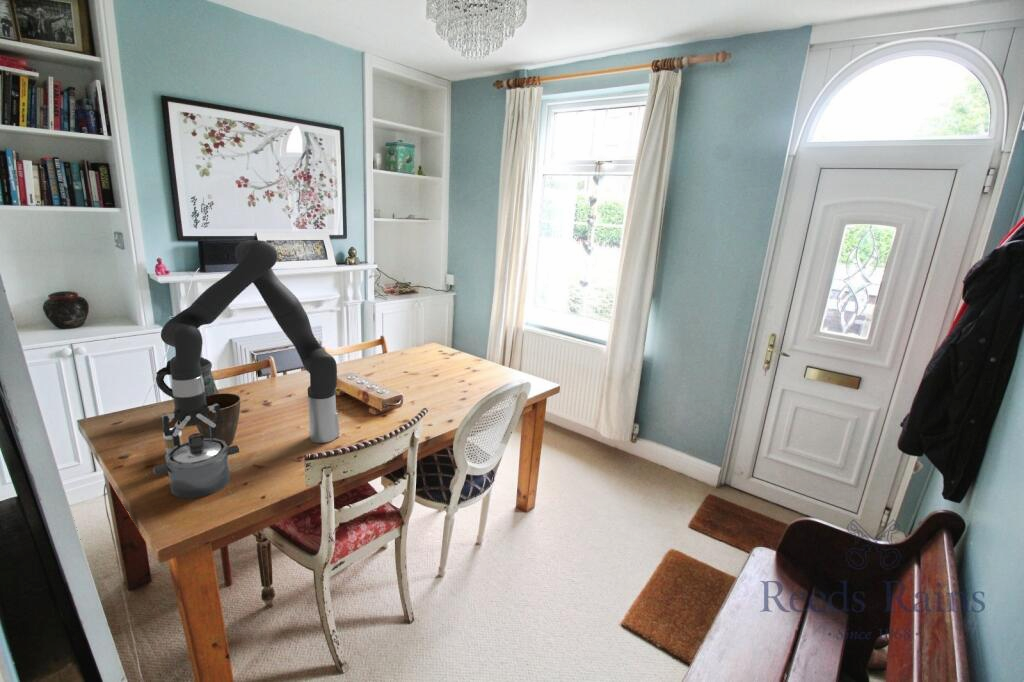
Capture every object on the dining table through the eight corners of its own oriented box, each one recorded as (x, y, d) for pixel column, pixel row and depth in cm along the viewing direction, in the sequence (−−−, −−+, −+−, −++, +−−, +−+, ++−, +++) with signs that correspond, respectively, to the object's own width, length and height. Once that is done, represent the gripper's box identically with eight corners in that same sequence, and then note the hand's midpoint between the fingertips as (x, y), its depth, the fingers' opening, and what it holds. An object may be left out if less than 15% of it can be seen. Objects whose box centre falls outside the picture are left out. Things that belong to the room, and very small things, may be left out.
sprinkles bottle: (184, 463, 152) (178, 425, 148) (188, 469, 149) (182, 431, 145) (167, 468, 148) (160, 430, 145) (170, 474, 145) (164, 435, 142)
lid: (217, 440, 148) (215, 423, 146) (225, 457, 139) (223, 439, 137) (171, 451, 140) (168, 433, 138) (175, 469, 131) (173, 450, 130)
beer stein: (233, 414, 186) (226, 354, 179) (178, 431, 171) (168, 366, 164) (212, 402, 195) (205, 344, 188) (158, 417, 179) (148, 355, 172)
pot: (234, 461, 155) (230, 431, 151) (247, 482, 144) (243, 450, 141) (154, 484, 140) (148, 450, 137) (162, 509, 130) (156, 473, 127)
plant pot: (183, 451, 159) (177, 407, 154) (216, 431, 173) (211, 390, 168) (224, 457, 157) (219, 413, 152) (254, 436, 171) (250, 395, 167)
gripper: (214, 381, 141) (220, 430, 146) (155, 392, 132) (164, 443, 136) (220, 389, 136) (226, 440, 140) (160, 401, 126) (168, 454, 131)
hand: (195, 441), depth 138 cm, fingers open, 8 cm apart
